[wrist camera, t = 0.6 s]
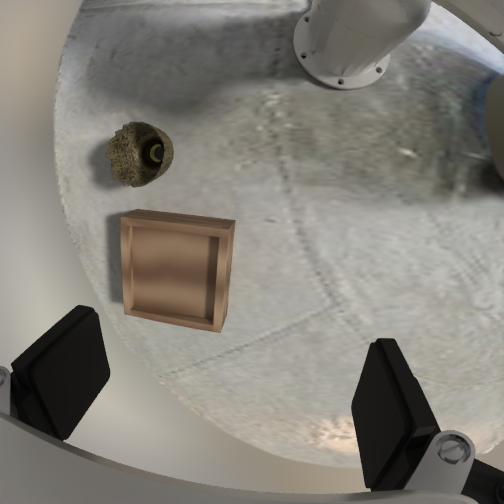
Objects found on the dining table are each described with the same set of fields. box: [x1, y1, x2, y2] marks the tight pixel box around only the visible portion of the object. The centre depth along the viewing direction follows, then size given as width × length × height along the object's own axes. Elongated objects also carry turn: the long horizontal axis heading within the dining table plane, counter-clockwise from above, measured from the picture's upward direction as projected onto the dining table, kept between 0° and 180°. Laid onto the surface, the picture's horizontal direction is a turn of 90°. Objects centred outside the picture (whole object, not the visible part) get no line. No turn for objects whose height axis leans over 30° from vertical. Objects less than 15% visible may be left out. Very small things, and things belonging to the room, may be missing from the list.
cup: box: [106, 122, 174, 187], centre depth 35 cm, size 8×7×8 cm
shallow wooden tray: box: [120, 209, 235, 333], centre depth 41 cm, size 14×14×6 cm
